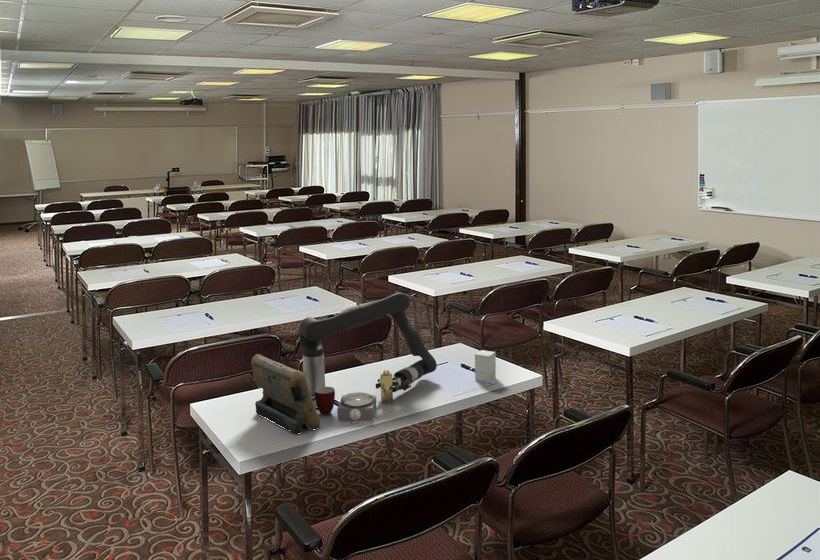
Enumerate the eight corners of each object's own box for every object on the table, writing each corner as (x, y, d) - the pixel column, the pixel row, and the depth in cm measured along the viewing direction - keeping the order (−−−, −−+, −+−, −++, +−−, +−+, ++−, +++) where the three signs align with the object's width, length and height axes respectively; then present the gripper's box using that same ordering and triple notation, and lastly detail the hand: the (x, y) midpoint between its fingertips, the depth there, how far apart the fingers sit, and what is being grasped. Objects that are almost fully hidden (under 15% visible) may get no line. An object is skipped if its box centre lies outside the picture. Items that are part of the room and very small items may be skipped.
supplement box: (496, 378, 311) (496, 351, 309) (489, 383, 305) (489, 356, 303) (481, 375, 315) (481, 349, 313) (474, 380, 309) (474, 353, 307)
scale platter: (338, 406, 267) (338, 404, 267) (343, 394, 280) (343, 392, 279) (371, 406, 266) (371, 404, 266) (374, 394, 279) (374, 392, 279)
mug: (316, 420, 268) (314, 396, 266) (306, 414, 274) (305, 390, 272) (339, 413, 274) (338, 390, 272) (329, 407, 280) (328, 385, 278)
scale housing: (337, 420, 267) (337, 408, 266) (343, 406, 281) (342, 395, 280) (372, 420, 266) (372, 408, 265) (376, 406, 280) (376, 395, 279)
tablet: (327, 425, 263) (324, 364, 258) (299, 437, 252) (295, 373, 247) (275, 405, 284) (271, 348, 279) (247, 415, 274) (243, 356, 269)
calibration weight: (380, 404, 283) (379, 373, 280) (381, 399, 288) (380, 369, 285) (392, 404, 283) (391, 373, 280) (393, 399, 287) (392, 369, 285)
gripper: (392, 366, 299) (370, 376, 286) (419, 371, 291) (398, 382, 278) (392, 382, 301) (371, 393, 287) (419, 387, 293) (398, 399, 280)
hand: (384, 388), depth 283 cm, fingers open, 8 cm apart
